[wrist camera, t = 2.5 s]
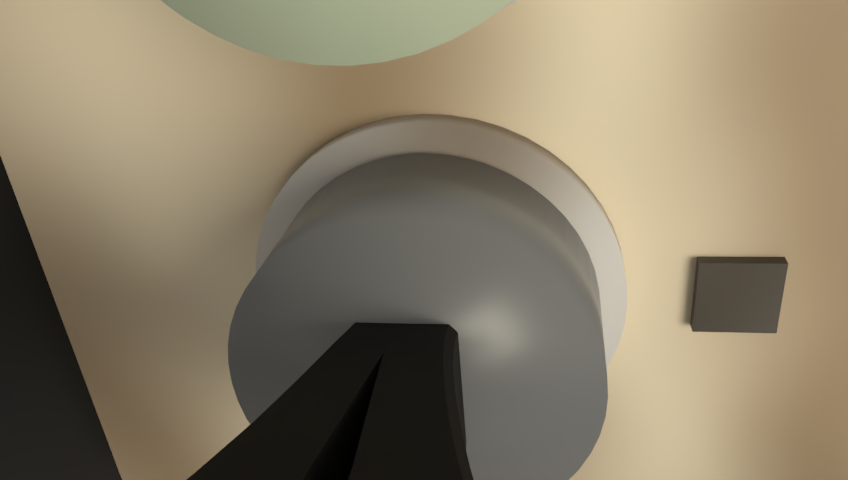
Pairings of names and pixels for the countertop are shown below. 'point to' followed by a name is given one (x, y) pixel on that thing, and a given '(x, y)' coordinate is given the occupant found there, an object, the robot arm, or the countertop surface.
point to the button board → (479, 141)
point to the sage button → (337, 26)
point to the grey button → (441, 303)
